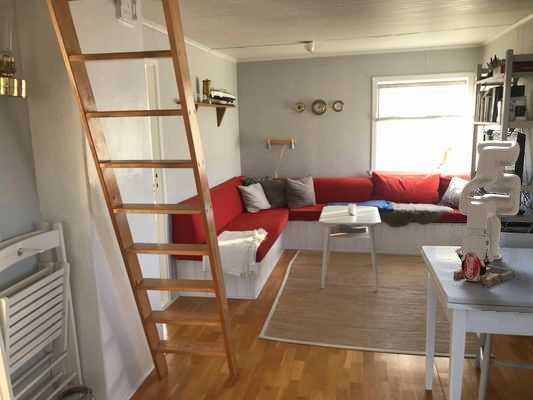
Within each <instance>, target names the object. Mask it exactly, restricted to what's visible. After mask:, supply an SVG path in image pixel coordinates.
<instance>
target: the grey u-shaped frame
mask: <svg viewBox="0 0 533 400" xmlns="http://www.w3.org/2000/svg"><path fill="white" fill-rule="evenodd" d="M486 267H488V268H491V269H490V273H494V274H496V273H498V274H500V281H499V282H505V281H507V280H510V279H511V278H513V277H515V273H516V270H514V269H510V268H507V267H501V266H497V265H493V264H488V265H487V266H486Z"/></svg>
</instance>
